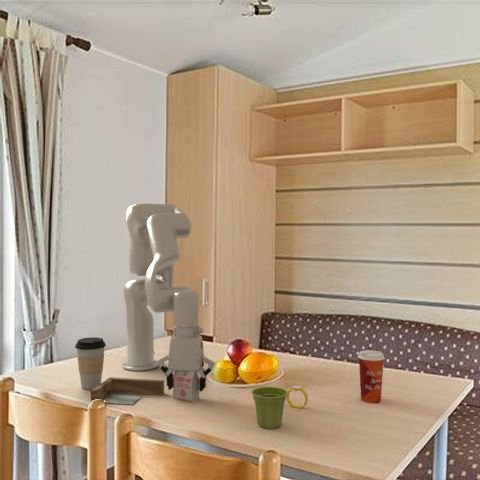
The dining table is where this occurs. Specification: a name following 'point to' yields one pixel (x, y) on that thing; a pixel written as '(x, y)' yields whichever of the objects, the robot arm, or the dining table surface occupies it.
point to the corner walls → (126, 389)
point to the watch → (297, 388)
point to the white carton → (186, 385)
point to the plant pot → (269, 406)
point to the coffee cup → (90, 361)
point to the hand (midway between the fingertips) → (186, 389)
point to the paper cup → (371, 375)
